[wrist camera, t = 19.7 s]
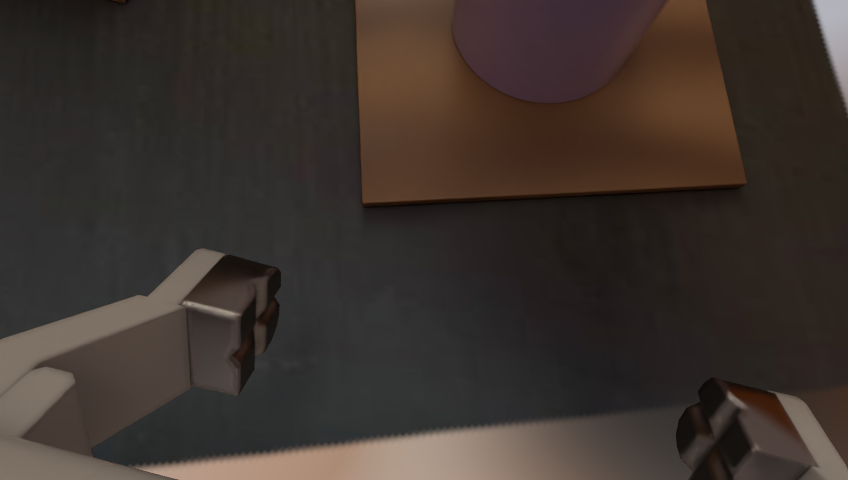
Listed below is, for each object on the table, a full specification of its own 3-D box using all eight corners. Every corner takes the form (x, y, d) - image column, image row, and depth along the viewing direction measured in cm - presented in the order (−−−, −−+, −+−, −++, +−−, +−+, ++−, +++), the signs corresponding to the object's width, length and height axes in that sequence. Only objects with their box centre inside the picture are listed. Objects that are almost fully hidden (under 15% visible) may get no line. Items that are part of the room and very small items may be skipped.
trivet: (740, 187, 18) (748, 183, 17) (363, 207, 17) (361, 203, 17) (673, -116, 21) (678, -125, 20) (351, -108, 20) (350, -117, 20)
